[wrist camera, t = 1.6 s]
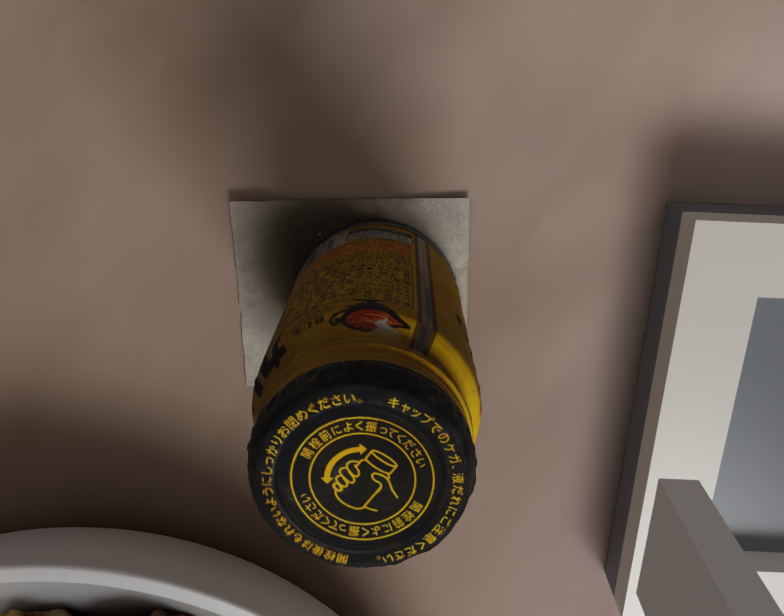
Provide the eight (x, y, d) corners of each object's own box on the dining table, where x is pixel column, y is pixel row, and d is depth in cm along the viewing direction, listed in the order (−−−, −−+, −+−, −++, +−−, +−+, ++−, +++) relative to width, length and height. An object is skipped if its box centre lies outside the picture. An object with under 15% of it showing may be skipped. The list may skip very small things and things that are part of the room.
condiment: (465, 382, 29) (505, 605, 18) (247, 384, 29) (151, 606, 18) (469, 196, 27) (519, 319, 15) (230, 199, 27) (106, 323, 15)
